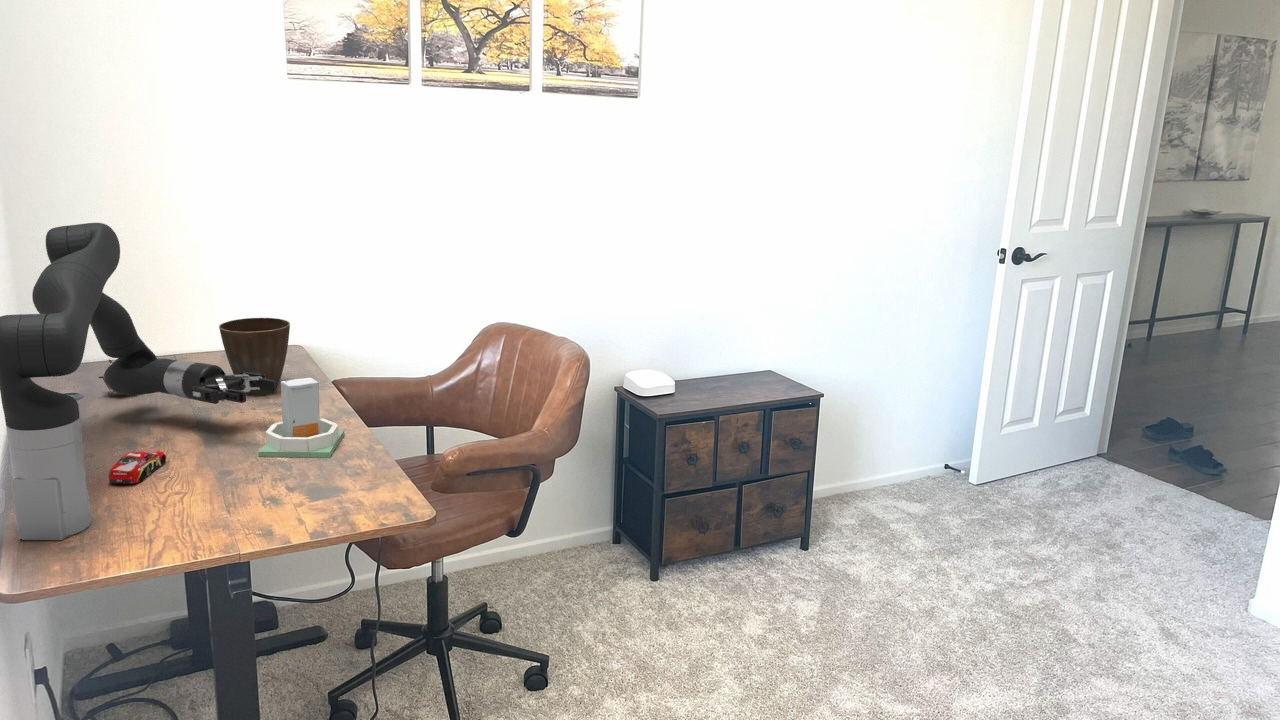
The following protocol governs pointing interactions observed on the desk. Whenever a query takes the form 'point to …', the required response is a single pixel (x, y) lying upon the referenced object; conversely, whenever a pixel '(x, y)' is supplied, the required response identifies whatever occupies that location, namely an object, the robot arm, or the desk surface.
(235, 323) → the plant pot
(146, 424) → the desk surface
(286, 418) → the skincare box
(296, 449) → the octagonal rimmed tray
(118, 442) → the desk surface
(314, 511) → the desk surface
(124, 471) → the race car
